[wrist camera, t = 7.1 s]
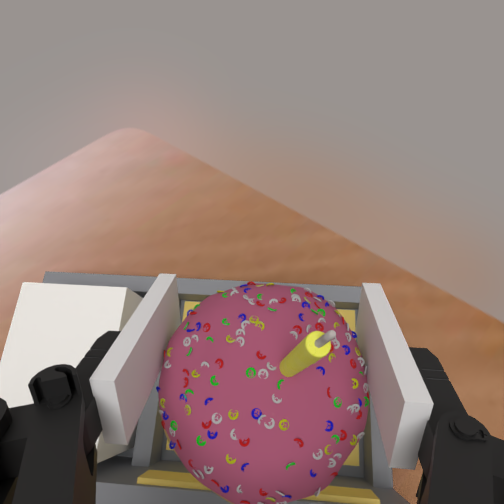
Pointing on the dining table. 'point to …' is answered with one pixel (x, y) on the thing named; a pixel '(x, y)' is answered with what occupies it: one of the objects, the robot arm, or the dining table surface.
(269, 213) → the dining table surface
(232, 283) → the tray
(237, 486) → the cupcake
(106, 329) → the blank block
